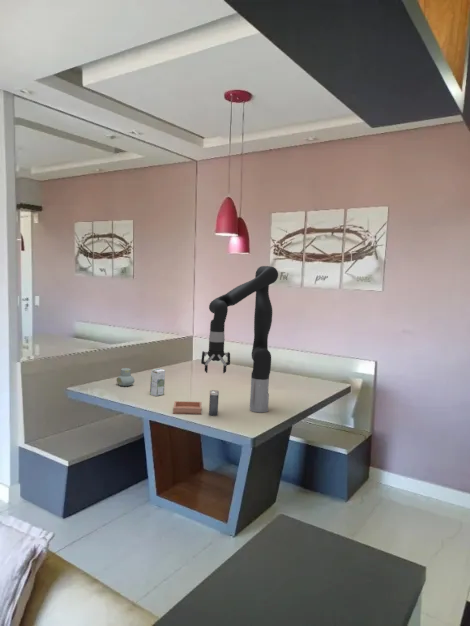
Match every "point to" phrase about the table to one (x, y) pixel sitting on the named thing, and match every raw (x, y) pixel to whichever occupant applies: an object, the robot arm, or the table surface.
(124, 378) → the air freshener
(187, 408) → the tray
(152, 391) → the syrup box
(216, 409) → the shaker
